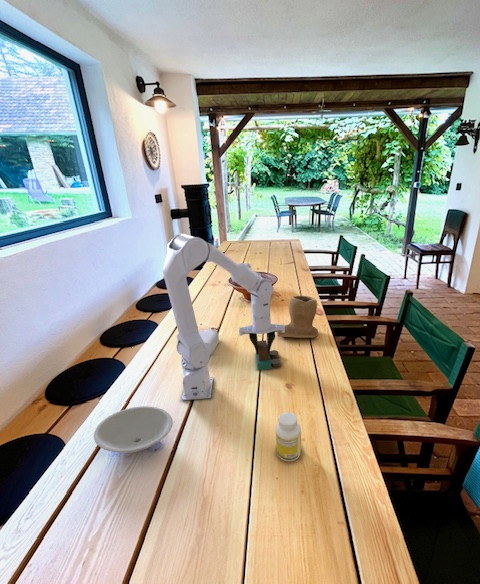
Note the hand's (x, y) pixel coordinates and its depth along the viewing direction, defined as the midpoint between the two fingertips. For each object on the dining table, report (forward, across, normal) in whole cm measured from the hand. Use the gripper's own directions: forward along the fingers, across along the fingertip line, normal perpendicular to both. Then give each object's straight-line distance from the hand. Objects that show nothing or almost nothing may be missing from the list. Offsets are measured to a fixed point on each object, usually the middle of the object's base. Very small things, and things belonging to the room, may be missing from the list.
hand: (263, 352), depth 106 cm
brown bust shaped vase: (+4, -15, -18) cm, 24 cm away
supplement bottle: (+4, -3, +39) cm, 39 cm away
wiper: (+3, 0, 0) cm, 3 cm away
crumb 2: (+3, -4, +3) cm, 6 cm away
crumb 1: (+3, -4, -3) cm, 6 cm away
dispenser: (+1, +20, -15) cm, 25 cm away
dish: (+4, +32, +32) cm, 46 cm away
